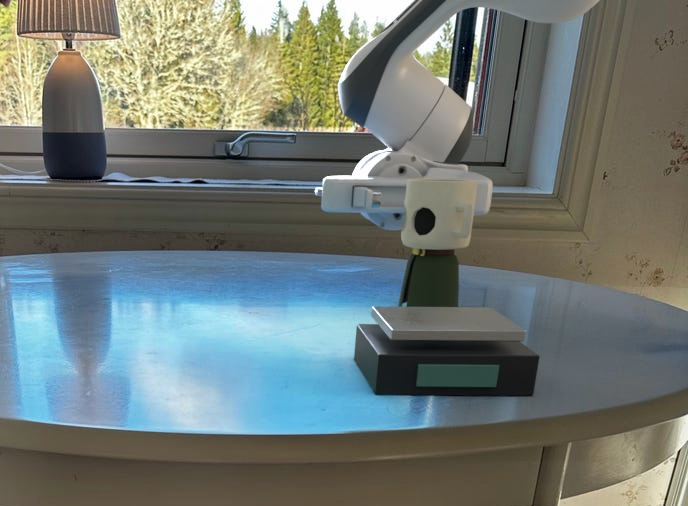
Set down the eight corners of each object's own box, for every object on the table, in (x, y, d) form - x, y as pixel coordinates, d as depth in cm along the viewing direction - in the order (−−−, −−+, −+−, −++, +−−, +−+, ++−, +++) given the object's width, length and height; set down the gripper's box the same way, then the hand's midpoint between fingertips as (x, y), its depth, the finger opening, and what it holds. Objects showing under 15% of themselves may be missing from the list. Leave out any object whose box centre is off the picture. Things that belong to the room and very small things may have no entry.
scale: (491, 360, 83) (497, 325, 81) (534, 396, 72) (541, 356, 71) (353, 359, 83) (356, 323, 81) (375, 395, 72) (379, 355, 70)
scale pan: (490, 317, 80) (491, 307, 80) (524, 341, 71) (526, 330, 71) (371, 316, 80) (371, 306, 80) (391, 340, 71) (392, 329, 71)
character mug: (371, 306, 106) (383, 177, 100) (425, 303, 109) (439, 176, 102) (428, 324, 97) (444, 183, 91) (485, 319, 100) (505, 182, 94)
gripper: (314, 162, 119) (326, 167, 107) (478, 164, 119) (508, 170, 107) (311, 217, 122) (322, 228, 110) (471, 219, 122) (499, 231, 110)
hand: (415, 199), depth 109 cm, fingers open, 8 cm apart
